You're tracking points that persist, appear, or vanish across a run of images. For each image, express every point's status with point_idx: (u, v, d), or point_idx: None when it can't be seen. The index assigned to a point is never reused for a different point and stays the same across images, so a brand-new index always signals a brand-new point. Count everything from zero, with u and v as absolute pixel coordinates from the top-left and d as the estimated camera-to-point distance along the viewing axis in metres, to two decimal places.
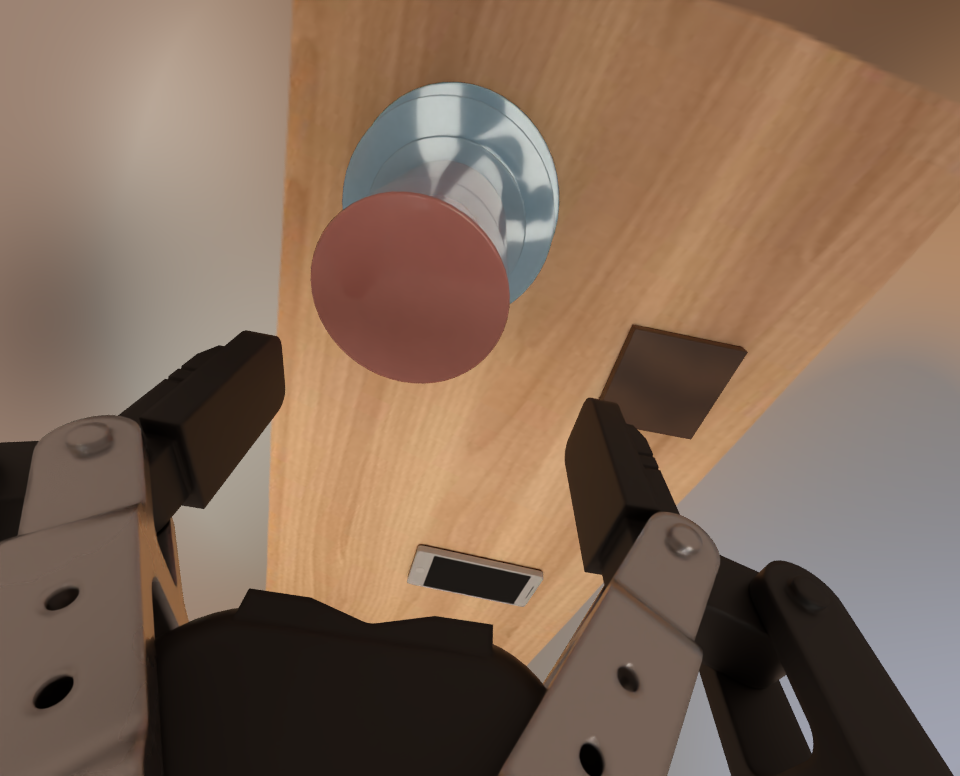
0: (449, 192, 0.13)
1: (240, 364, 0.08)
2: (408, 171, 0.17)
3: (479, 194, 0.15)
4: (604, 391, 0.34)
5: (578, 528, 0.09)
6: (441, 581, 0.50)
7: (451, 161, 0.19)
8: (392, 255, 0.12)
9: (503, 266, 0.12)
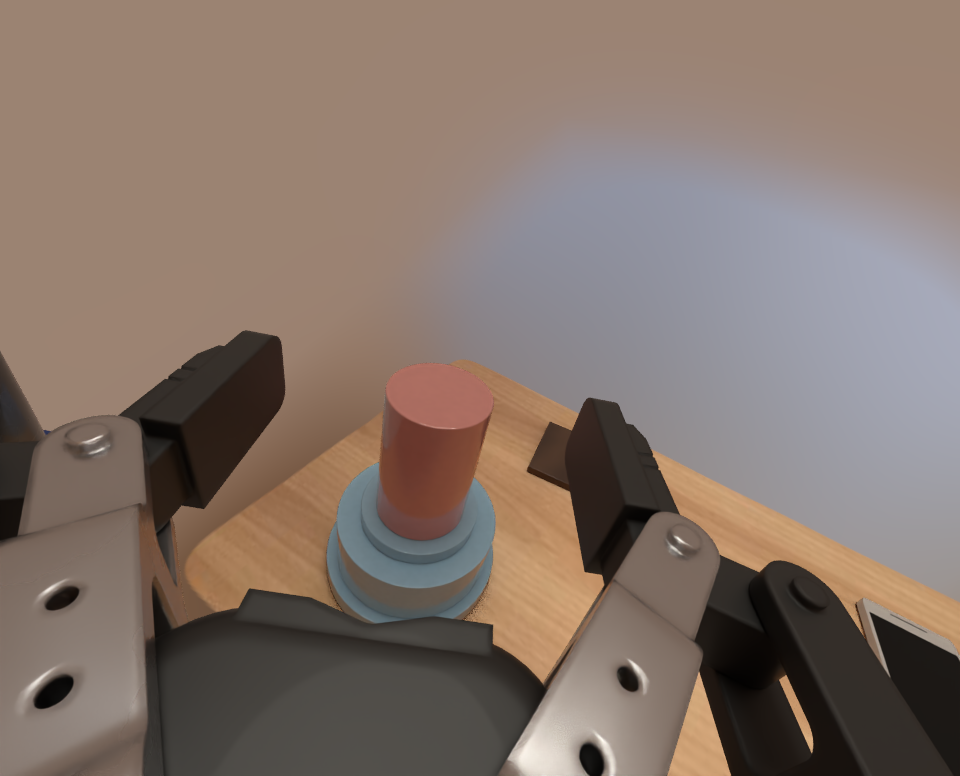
0: None
1: (240, 364, 0.08)
2: None
3: None
4: None
5: (579, 528, 0.09)
6: None
7: None
8: (415, 388, 0.24)
9: (437, 363, 0.26)
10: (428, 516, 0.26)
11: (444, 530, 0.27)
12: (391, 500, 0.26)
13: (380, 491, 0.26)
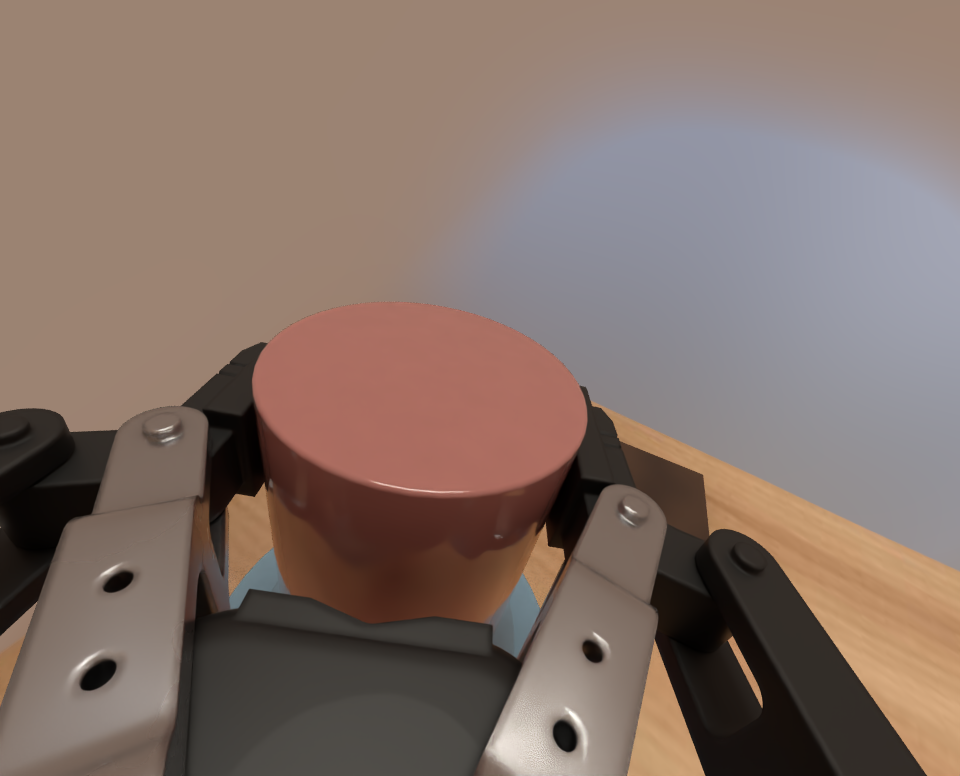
0: None
1: None
2: None
3: None
4: None
5: None
6: None
7: None
8: (356, 358, 0.08)
9: (424, 304, 0.11)
10: None
11: None
12: None
13: None
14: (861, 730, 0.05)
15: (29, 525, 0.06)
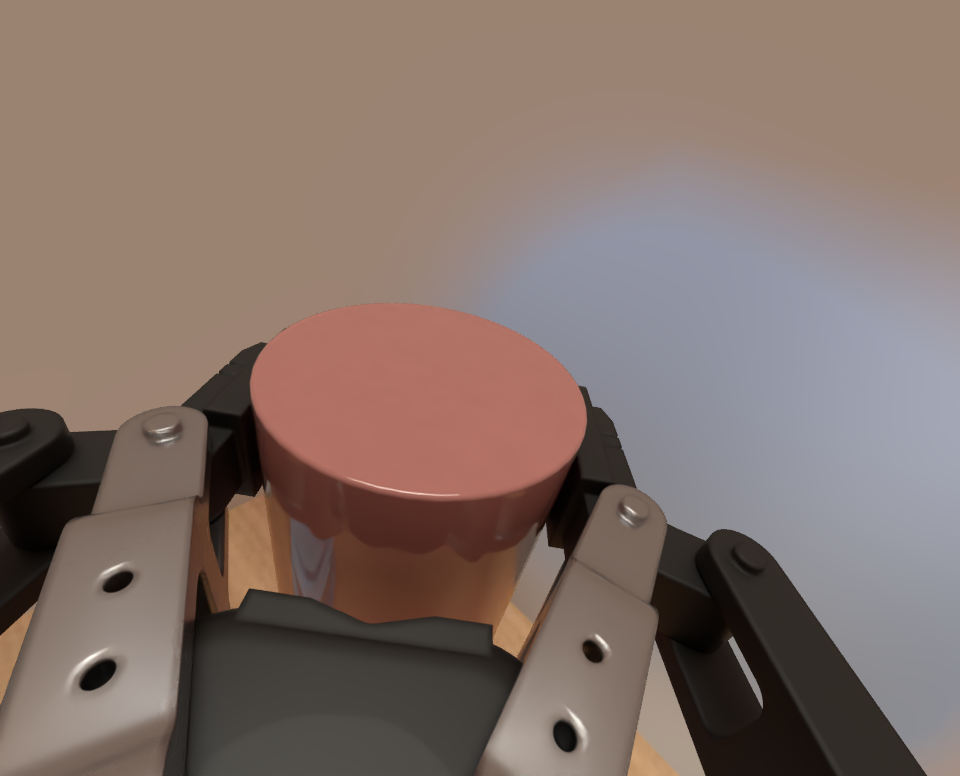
0: None
1: None
2: None
3: None
4: None
5: None
6: None
7: None
8: (354, 360, 0.08)
9: None
10: None
11: None
12: None
13: None
14: (861, 731, 0.05)
15: (28, 525, 0.06)
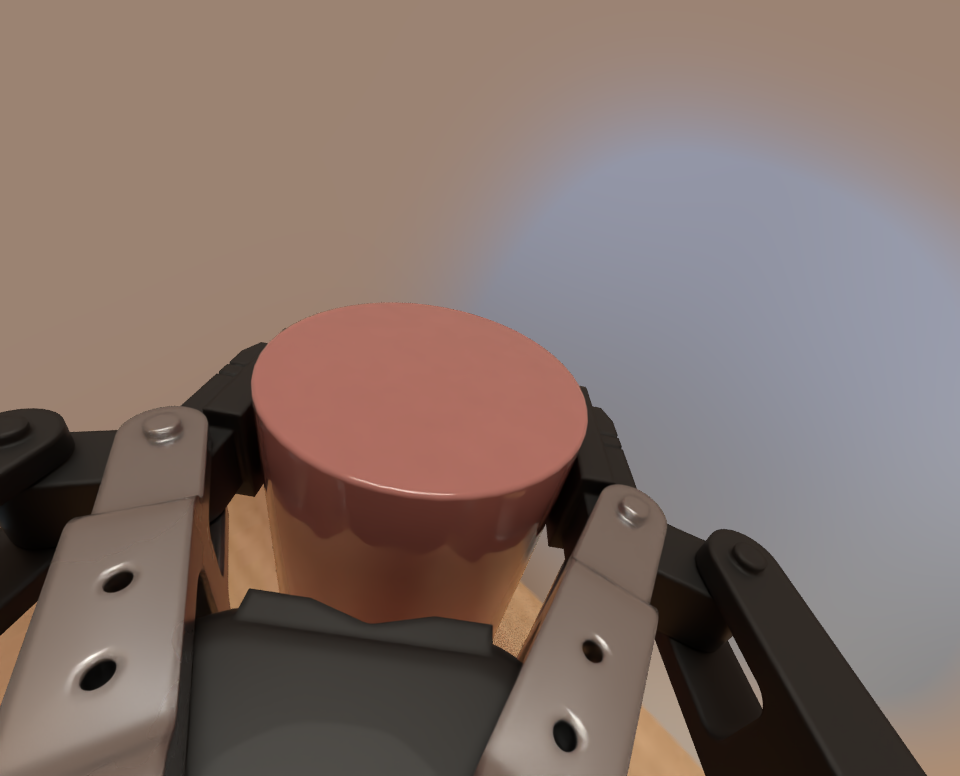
0: None
1: None
2: None
3: None
4: None
5: None
6: None
7: None
8: (355, 359, 0.08)
9: (423, 305, 0.11)
10: None
11: None
12: None
13: None
14: (861, 730, 0.05)
15: (29, 525, 0.06)
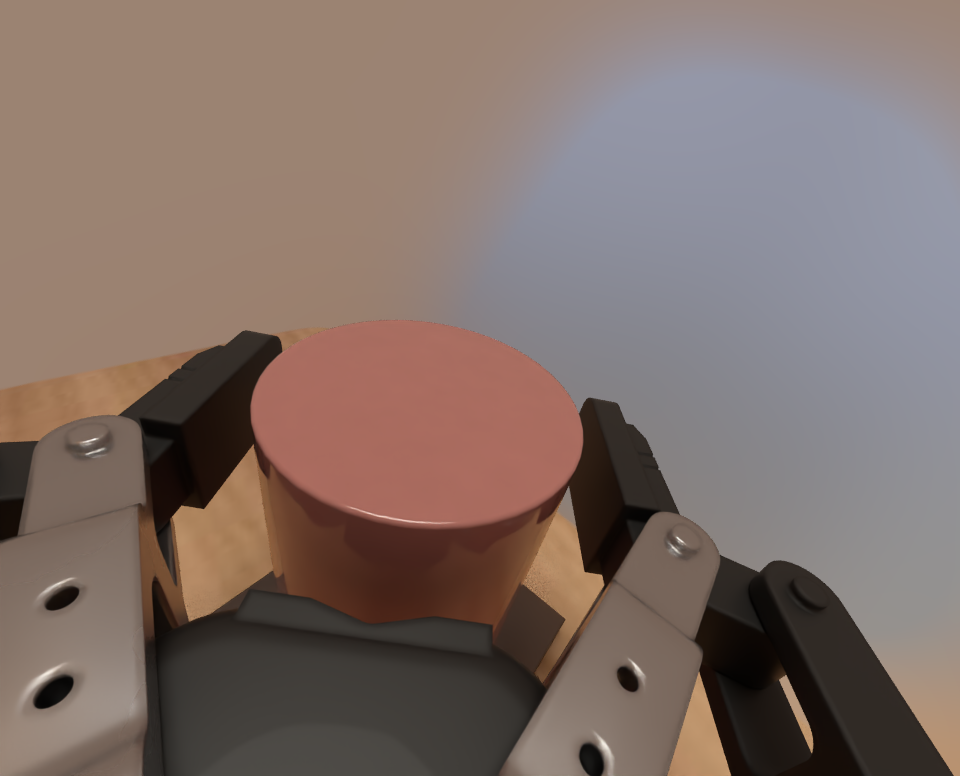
0: None
1: (240, 364, 0.08)
2: None
3: None
4: None
5: (578, 528, 0.09)
6: None
7: None
8: (353, 381, 0.08)
9: (422, 322, 0.11)
10: None
11: None
12: None
13: None
14: None
15: None
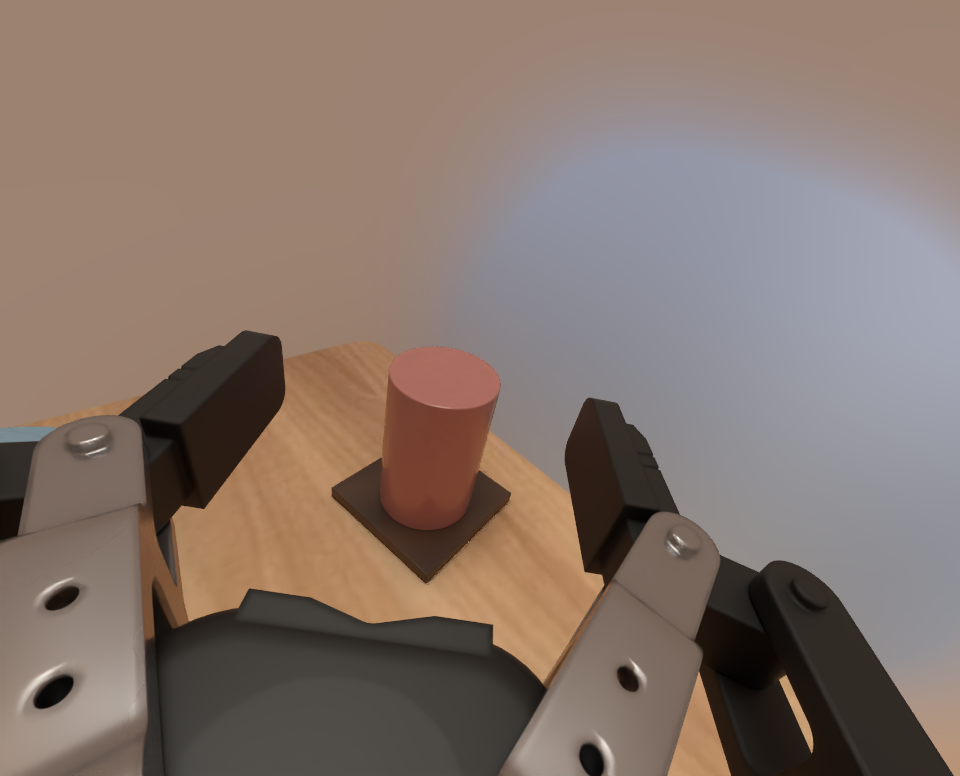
0: None
1: (240, 364, 0.08)
2: None
3: None
4: (392, 548, 0.25)
5: (578, 528, 0.09)
6: None
7: None
8: (419, 370, 0.23)
9: (441, 347, 0.26)
10: (434, 504, 0.25)
11: (450, 519, 0.26)
12: (395, 488, 0.25)
13: (384, 479, 0.26)
14: None
15: None
